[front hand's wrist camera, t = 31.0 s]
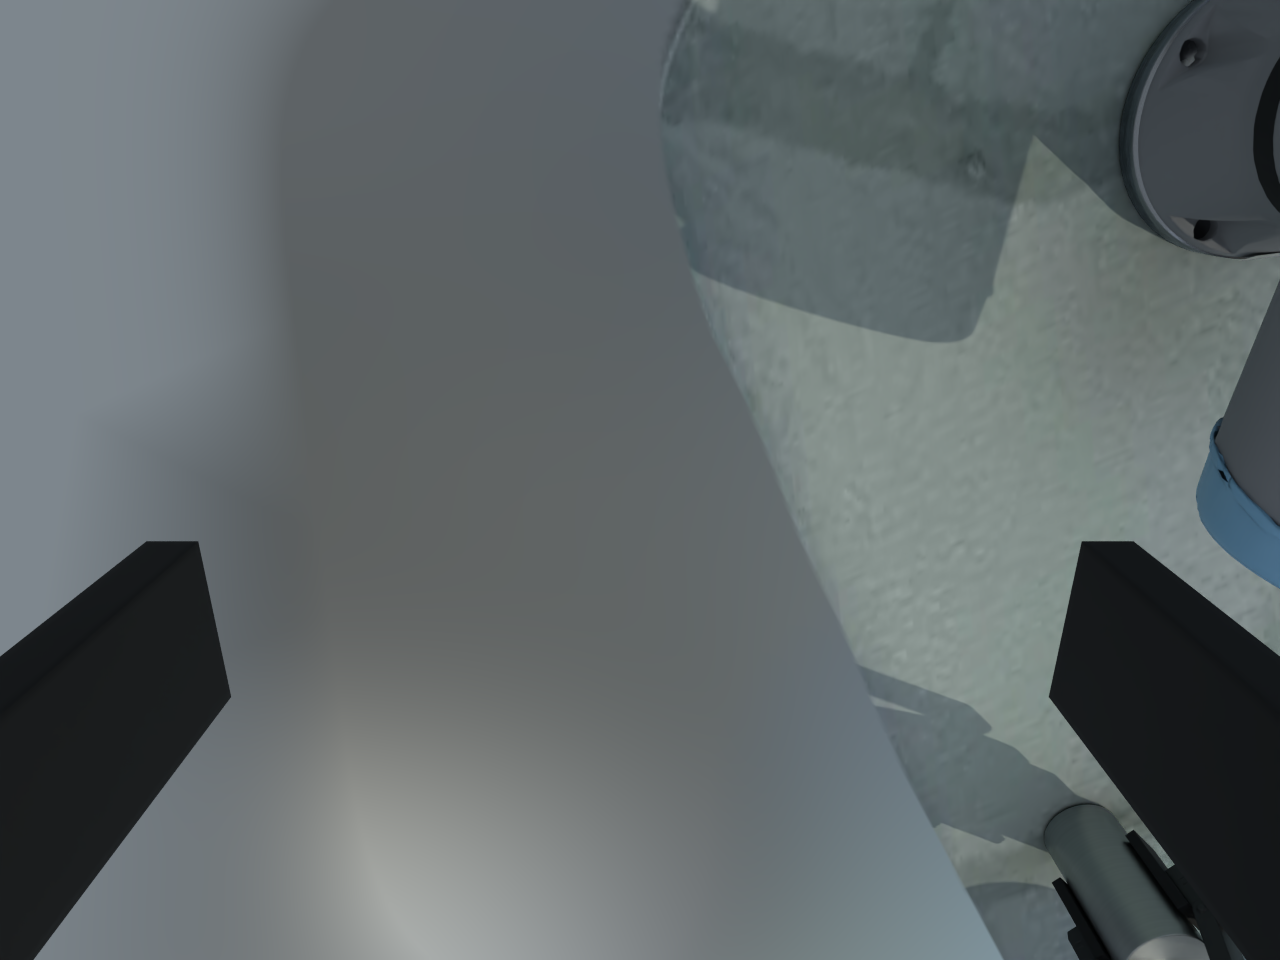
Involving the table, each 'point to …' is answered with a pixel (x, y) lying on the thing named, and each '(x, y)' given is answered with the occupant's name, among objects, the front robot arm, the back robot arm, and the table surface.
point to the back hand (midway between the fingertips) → (1102, 866)
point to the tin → (1118, 889)
